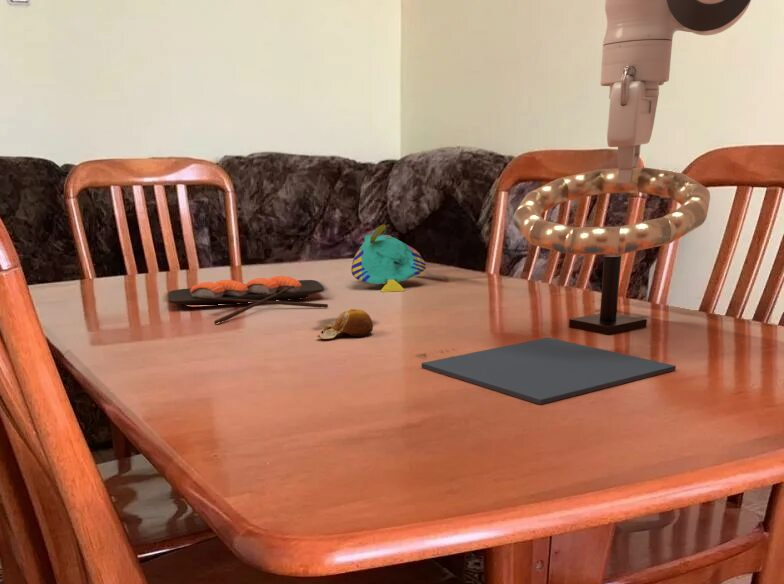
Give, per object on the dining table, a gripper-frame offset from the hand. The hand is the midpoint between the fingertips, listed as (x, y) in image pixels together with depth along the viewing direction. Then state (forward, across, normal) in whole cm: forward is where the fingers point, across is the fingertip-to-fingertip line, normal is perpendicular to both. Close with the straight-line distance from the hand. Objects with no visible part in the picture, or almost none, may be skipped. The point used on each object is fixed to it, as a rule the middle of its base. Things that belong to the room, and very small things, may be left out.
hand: (626, 181), depth 116 cm
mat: (+20, -28, +5) cm, 35 cm away
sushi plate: (+20, +5, +66) cm, 69 cm away
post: (+20, -1, +1) cm, 20 cm away
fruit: (+20, -14, +39) cm, 46 cm away
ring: (+3, -10, +1) cm, 11 cm away
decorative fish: (+20, +32, +50) cm, 62 cm away
